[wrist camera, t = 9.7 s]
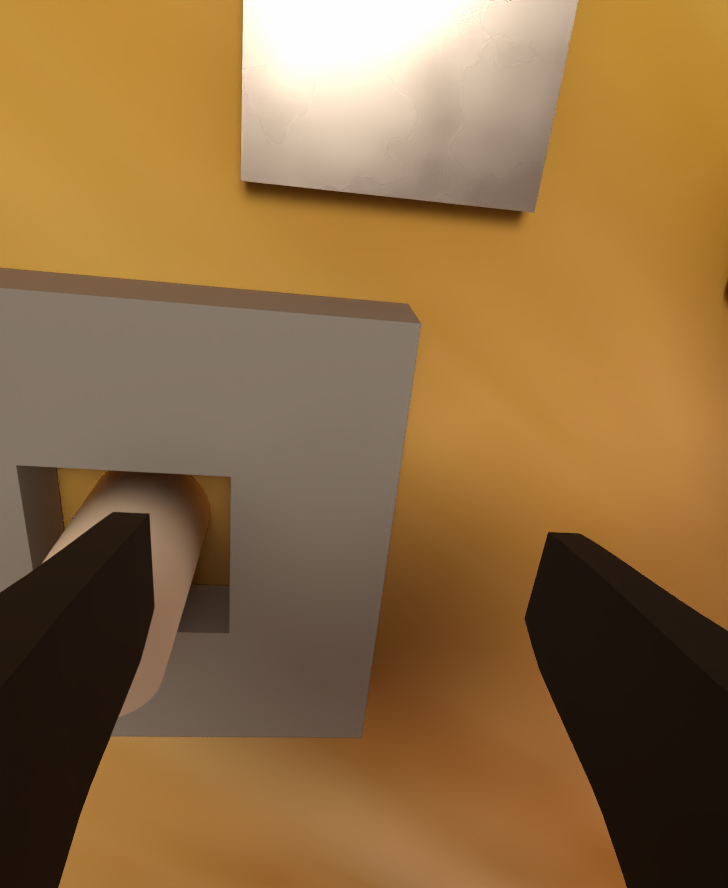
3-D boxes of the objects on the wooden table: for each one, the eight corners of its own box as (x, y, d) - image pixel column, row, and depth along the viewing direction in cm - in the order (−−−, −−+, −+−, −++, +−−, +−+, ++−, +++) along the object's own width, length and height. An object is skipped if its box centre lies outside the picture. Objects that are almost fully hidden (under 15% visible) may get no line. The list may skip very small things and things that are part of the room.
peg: (211, 463, 20) (163, 600, 14) (209, 560, 22) (165, 723, 15) (87, 454, 20) (-21, 591, 13) (95, 554, 21) (2, 718, 15)
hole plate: (407, 304, 18) (422, 325, 16) (357, 685, 25) (361, 742, 22) (-159, 253, 16) (-241, 269, 14) (-51, 679, 23) (-94, 739, 21)
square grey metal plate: (595, -152, 14) (614, -174, 13) (522, 210, 17) (534, 212, 16) (251, -215, 13) (246, -243, 12) (244, 179, 16) (240, 180, 16)
